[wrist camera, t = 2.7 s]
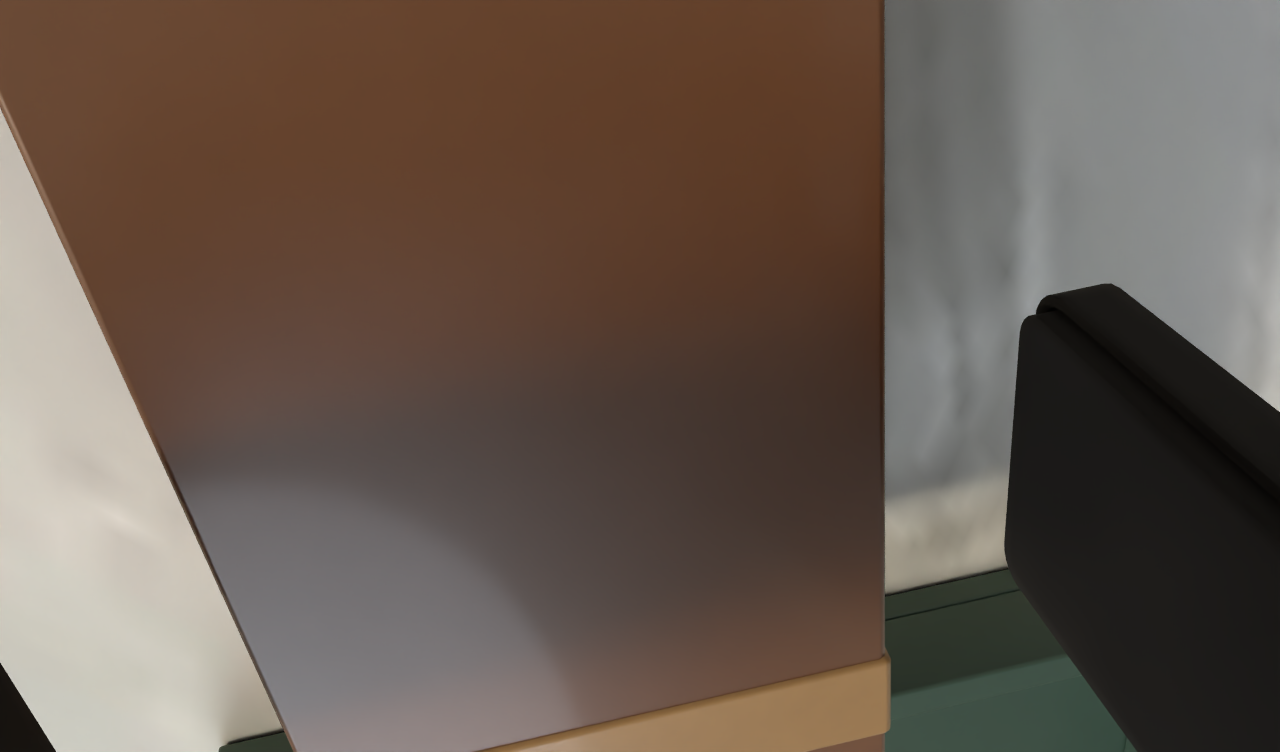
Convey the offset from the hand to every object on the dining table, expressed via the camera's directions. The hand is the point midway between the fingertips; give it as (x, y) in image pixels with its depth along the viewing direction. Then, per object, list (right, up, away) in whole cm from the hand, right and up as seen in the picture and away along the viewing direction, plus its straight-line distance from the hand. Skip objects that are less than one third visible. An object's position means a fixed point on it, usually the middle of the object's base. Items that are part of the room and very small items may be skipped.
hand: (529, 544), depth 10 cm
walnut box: (-1, +3, +4) cm, 5 cm away
